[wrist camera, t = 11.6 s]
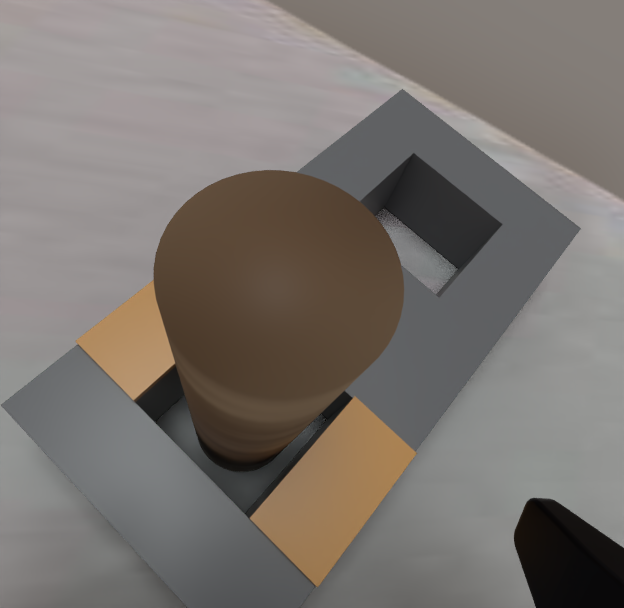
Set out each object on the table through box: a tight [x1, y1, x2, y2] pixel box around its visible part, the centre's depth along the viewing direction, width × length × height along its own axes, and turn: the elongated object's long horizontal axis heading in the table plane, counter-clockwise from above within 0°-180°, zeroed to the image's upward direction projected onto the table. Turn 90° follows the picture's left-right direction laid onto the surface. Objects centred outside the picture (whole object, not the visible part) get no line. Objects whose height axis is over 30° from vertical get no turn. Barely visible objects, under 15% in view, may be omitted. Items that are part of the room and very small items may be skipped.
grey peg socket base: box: [1, 89, 581, 608], centre depth 19 cm, size 20×10×4 cm, turn 139°
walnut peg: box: [154, 170, 404, 472], centre depth 13 cm, size 4×4×13 cm
